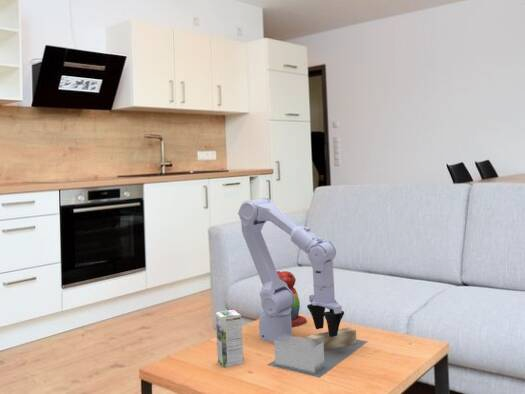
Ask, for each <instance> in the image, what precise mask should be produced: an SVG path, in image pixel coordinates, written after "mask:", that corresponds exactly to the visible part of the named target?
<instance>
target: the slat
mask: <svg viewBox="0 0 525 394" xmlns="http://www.w3.org/2000/svg"><path fill="white" fill-rule="evenodd" d="M301 338H306V339H311V340H316V341H322V342H323V345H324V351H326V350H330V349H334V348H339V347H343V346H347V345H352V344H356V339H357V329H355V328H353V327H351V326H349V327H343V328H339V329H338V334H337V336H334V337H330V336H329V332H328V331H325V332H319V333H315V334H311V335H306V336H302V337H301Z"/></svg>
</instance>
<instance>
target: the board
mask: <svg viewBox="0 0 525 394" xmlns="http://www.w3.org/2000/svg"><path fill="white" fill-rule="evenodd" d="M367 343H368V341H367V340H361V339H357V338H356V344H352V345H347V346H343V347H339V348H334V349H330V350H326V351H324V365H325V367H324V368H323V369H321V370H320V371H319V372H317V373H316V374H311V373H307V372H303V371H299V370H294V369H290V368H286V367H282V366H277V365H275V359H274V360H272V361H271V362H270V363H268V364H267V366H269V367H272V368H278V369H282V370H286V371H289V372H294V373H299V374H303V375H308V376H311V377H315V378H321V377H322V376H324V375H325V374H327V373H328V372H329V371H331V370H332V369H333V368H335V367H336V366H337V365H339V364H340V363H341V362H342V361H344V360H345V359H347V358H348V357H350V355H352V354H353V353H355V352H356V351H358V350H359V349H360V348H361V347H363V346H364V345H365V344H367Z"/></svg>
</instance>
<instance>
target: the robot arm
mask: <svg viewBox="0 0 525 394" xmlns="http://www.w3.org/2000/svg"><path fill="white" fill-rule="evenodd" d="M237 214H238V216H239V219H240V223H241V233H242V236H243V238H244V240H245V243H246V245H247V249H248V251H249V253H250V257H251V258H252V261H253V264H254V267H255V269H256V272H257V274H258V276H259V279H260V282H261V284H262V287H261V290H260V292H259V296H260V299H261V302H260V303H261V308H262V310H263V312H262V313H261V315H259V319H258V320H259V321H258V322H259V323H258V324H259V326H258V327H259V339H260V340H263V341H266V342H267V341H268V342H270V343H273V344H274V340H275V339H277V338H279V337H281V336H283V335H290V336H293V331H292V330H293V327H292V325H291V311H292V310H291V307H292V306H293V305H294V302H295V297H294V294H293V292H292V291H291V290H290V289H289V288H288V286H287V283H285V282H284V281H282V280H281V279H280V278H279V276H278V273H277V268H276V266H275V264H274V261H273V259H272V256H271V253H270V251H269V248H268V245H267V244H266V241H265V239H264V236H263V233H262V230H263V227H264V225H265V224H266V222H271V223H272V224H274V225H275V226H277V227H278V228H279V229H281V230H282V231H283V232H285V233H286V234H288V235H289V236H290V240H291V242H292V243H293V244H294V245H295V246H297V247H298V248H299V249H300V250H301V251H303V252H304V253H305V254H306V255H307V258H308V260H309V262H310V263H311V267H312V278H313V279H312V281H313V294H310V295H308V300H309V301H308V302H310V304H307V305H306V308H307V309H308V311H309V313H310V314H311V317H312V320H313V324H314V328H315V329H316V330H321V329H324V324H325V321H326V324H327V332H329V336H330V337H334V336H337V334H338V329H340V323H341V321H342V319H343V318H344V316H345V311H344V310H342V307H343V306H342V305H341V304H339V302H338V301H337V300H336V299H335V297H336V296H335V280H334V279H335V278H334V277H335V276H334V262H333V260H335V257H336V254H337V250H336V247H335V245H334V244H333V243H332V242H331V241H330V240H323V237H320V236H319V237H318V236H317V235H316V234H315V233H313V232H312V230H311V228H310V227H309V226H304V225H299V226H298V225H297V224H296V223H295V222H294V221H292V220H291V219H290V218H289V217H288V216H287V215H286V214H285V213H283V211H281V210H280V209H279V208H278V207H277V204H276V203H275V202H272V200H270V198H267V197H266V198H265V197H262V198H258V199H253V200H252V199H251V200H245V201H243V202H242V203H241V205H240V207H239V209H238V213H237ZM274 291H276V292H274ZM326 309H327V310H329V311H326Z"/></svg>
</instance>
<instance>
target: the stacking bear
mask: <svg viewBox="0 0 525 394" xmlns="http://www.w3.org/2000/svg"><path fill="white" fill-rule="evenodd" d="M276 271H277V270H276ZM277 273H278V276H279V278H280V279H281V280H282V281H284V282H285V283H287V286H288V288H289V289H290V290H291V291H292V292H293V294H294V297H295V302H294V305H293V306H292V307H291V310H292V311H291V325H292V328H293V327H299V326H302V325H305V324H306V323H308V321H307V318H306V317H304V316H302V315H300V308H301V307H300V306H301V305H300V298H299V295H298V294H299V293H298V291H297V290H296V288H295V284H296V281H297V280H296V277H295V276H294V274H293V273H292V272H291V271H288V270H287V271H280V270H278V271H277ZM274 292H276V291H274Z"/></svg>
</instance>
